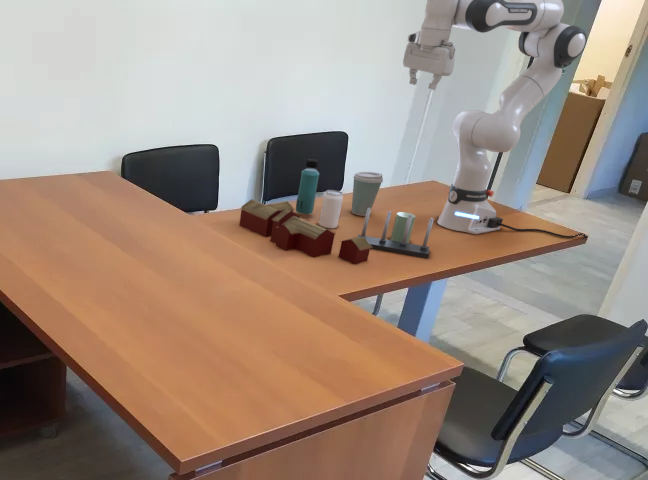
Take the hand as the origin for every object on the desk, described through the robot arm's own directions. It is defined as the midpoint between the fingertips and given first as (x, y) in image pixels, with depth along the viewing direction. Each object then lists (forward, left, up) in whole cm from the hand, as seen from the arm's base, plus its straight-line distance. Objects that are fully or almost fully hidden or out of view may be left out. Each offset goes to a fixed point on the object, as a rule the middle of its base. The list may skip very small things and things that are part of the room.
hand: (422, 86), depth 224 cm
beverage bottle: (+22, -20, -48) cm, 56 cm away
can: (+19, -8, -48) cm, 52 cm away
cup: (+2, +10, -47) cm, 48 cm away
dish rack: (+10, +16, -47) cm, 51 cm away
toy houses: (+38, +6, -48) cm, 61 cm away
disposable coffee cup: (-2, -19, -48) cm, 51 cm away
